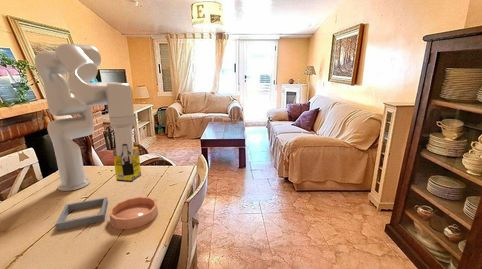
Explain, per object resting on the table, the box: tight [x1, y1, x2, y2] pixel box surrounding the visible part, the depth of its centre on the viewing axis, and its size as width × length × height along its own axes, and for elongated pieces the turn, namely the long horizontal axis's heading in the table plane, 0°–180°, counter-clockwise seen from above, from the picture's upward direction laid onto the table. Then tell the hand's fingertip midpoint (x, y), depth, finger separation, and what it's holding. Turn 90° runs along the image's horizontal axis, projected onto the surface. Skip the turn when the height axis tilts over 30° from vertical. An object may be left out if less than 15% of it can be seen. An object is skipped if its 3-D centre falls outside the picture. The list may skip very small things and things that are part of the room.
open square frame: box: [55, 196, 109, 232], centre depth 91 cm, size 14×14×2 cm
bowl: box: [108, 196, 159, 230], centre depth 90 cm, size 16×16×4 cm
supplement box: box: [112, 146, 142, 183], centre depth 86 cm, size 6×6×11 cm
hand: (128, 170), depth 86 cm, fingers closed on supplement box, 8 cm apart
